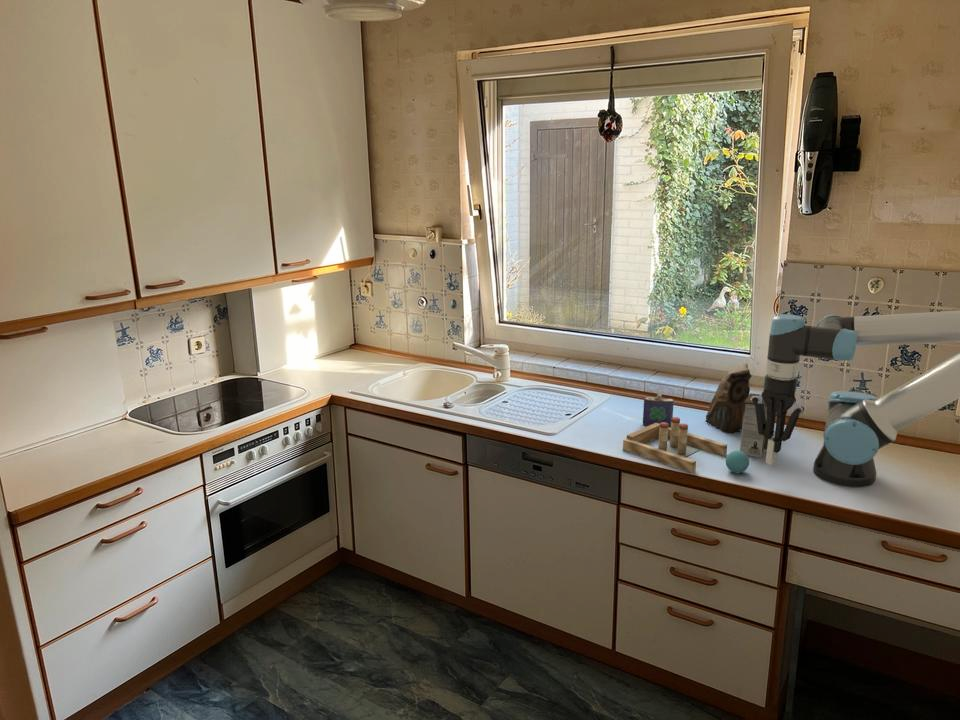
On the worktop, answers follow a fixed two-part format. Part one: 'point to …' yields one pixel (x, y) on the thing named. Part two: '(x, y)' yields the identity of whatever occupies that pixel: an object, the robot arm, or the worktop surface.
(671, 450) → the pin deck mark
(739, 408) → the carved bird figurine
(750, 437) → the coffee box
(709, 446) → the lane
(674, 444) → the pin
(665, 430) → the pin
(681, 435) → the pin front
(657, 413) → the flask
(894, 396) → the robot arm
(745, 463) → the ball
